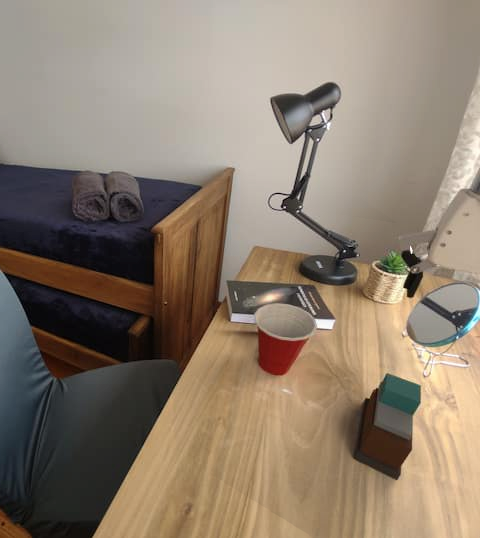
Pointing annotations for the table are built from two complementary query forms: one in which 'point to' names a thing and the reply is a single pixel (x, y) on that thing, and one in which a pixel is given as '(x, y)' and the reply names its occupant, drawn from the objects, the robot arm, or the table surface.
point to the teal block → (397, 405)
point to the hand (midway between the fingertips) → (450, 303)
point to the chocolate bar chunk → (379, 443)
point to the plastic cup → (281, 335)
